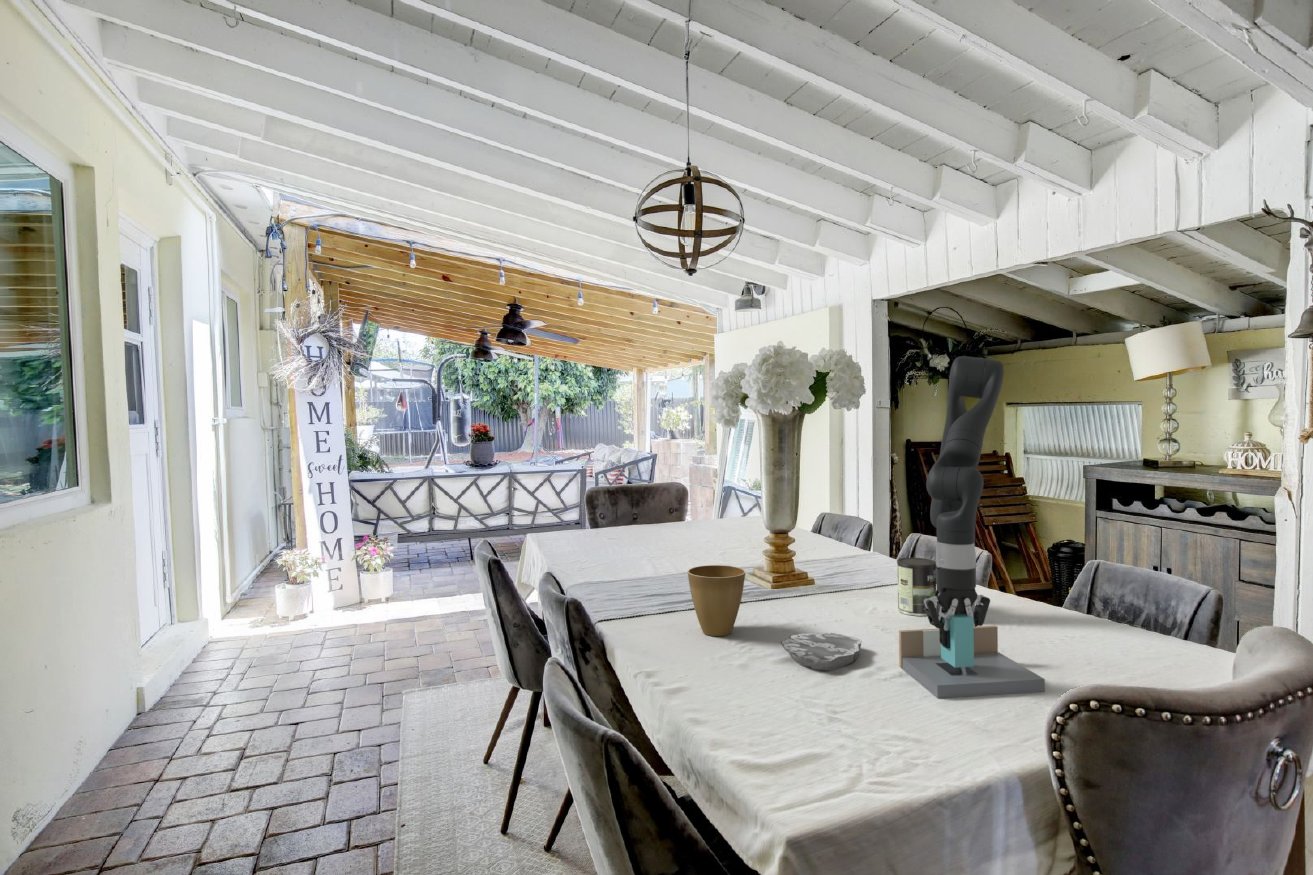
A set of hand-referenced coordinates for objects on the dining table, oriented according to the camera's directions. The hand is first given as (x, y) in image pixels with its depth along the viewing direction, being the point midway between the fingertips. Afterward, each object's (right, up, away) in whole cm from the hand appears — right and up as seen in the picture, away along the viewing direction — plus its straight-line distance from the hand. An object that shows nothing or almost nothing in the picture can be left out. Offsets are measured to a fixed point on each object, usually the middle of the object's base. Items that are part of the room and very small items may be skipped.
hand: (956, 646), depth 137 cm
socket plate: (+3, -7, +1) cm, 8 cm away
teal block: (0, -3, 0) cm, 3 cm away
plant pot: (-46, -8, +35) cm, 58 cm away
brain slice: (-24, -8, +16) cm, 30 cm away
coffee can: (+11, -6, +49) cm, 50 cm away
